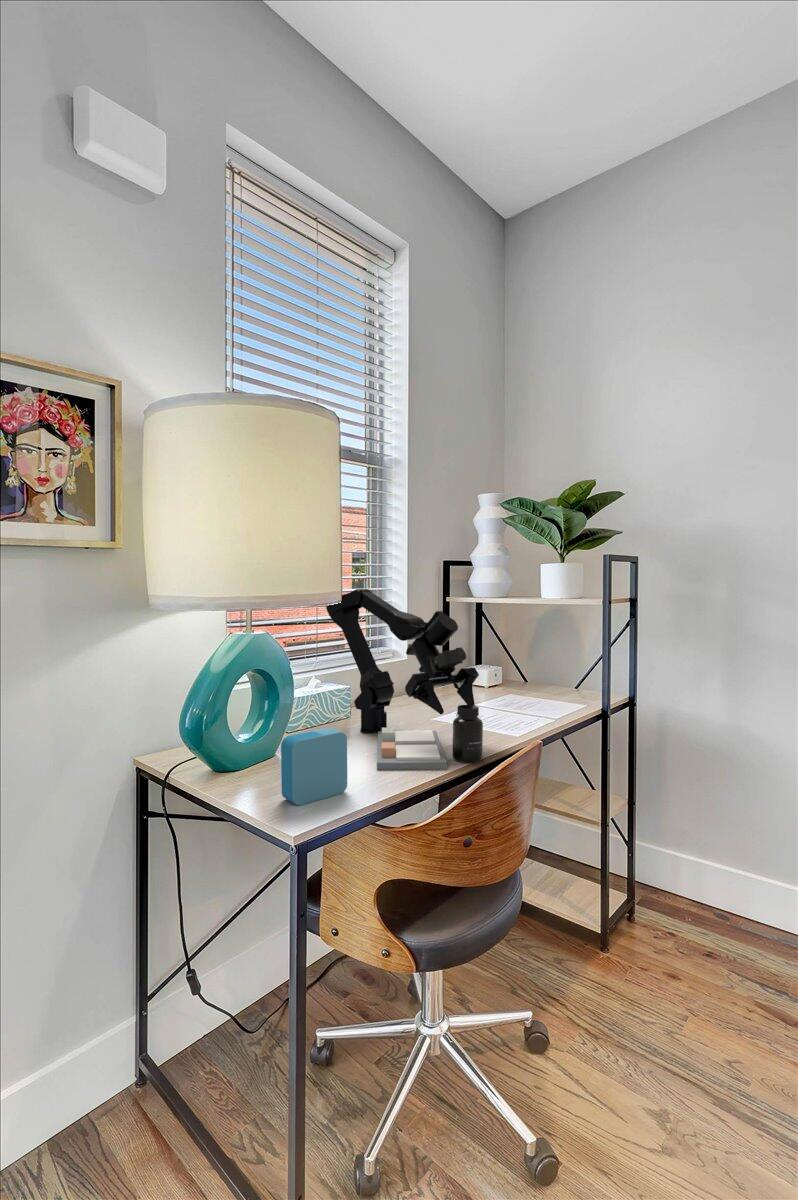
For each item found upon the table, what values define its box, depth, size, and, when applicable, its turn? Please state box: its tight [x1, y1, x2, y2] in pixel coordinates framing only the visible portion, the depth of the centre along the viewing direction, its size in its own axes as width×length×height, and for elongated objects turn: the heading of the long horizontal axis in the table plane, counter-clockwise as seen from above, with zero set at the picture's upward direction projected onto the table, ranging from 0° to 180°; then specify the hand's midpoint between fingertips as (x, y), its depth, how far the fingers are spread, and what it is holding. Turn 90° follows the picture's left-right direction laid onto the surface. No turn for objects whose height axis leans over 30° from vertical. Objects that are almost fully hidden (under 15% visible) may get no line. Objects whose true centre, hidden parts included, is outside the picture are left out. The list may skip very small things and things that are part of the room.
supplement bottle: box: [451, 704, 484, 764], centre depth 137 cm, size 7×7×12 cm
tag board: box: [376, 727, 448, 771], centre depth 143 cm, size 15×26×4 cm, turn 1°
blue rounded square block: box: [280, 727, 348, 806], centre depth 114 cm, size 12×4×12 cm, turn 130°
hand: (458, 710), depth 139 cm, fingers open, 9 cm apart
